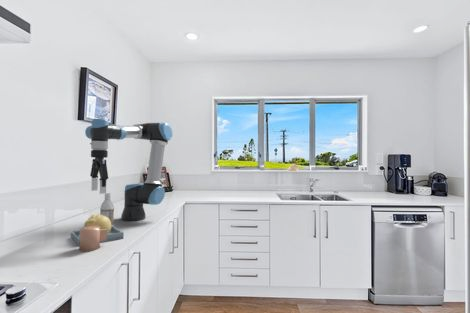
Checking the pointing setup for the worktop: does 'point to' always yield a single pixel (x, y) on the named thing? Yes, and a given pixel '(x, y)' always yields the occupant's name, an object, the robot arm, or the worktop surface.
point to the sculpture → (99, 222)
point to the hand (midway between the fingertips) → (98, 191)
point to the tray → (112, 235)
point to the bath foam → (107, 208)
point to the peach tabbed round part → (91, 238)
